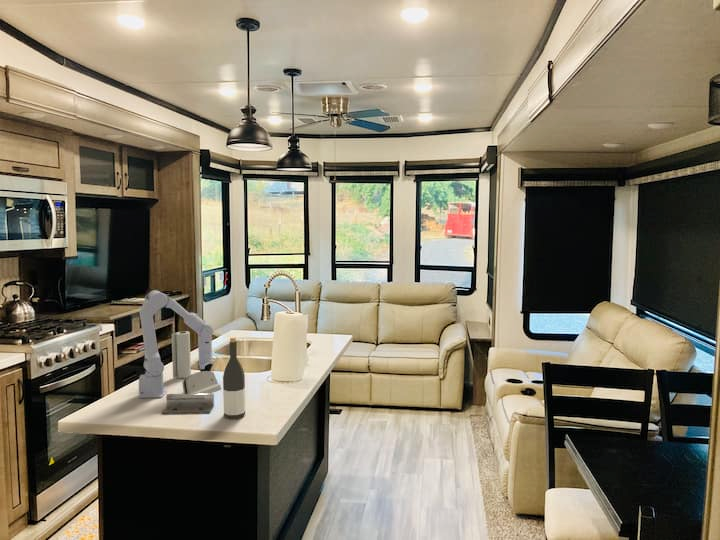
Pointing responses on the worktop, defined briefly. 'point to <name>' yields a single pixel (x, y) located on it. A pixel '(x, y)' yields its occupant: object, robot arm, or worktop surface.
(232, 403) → the wine bottle
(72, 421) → the worktop surface
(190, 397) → the fixed leaf
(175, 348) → the paper towel roll
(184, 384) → the beige piece
